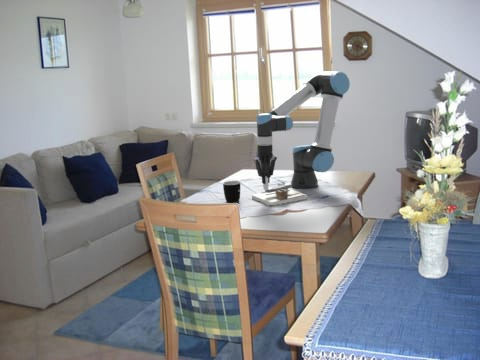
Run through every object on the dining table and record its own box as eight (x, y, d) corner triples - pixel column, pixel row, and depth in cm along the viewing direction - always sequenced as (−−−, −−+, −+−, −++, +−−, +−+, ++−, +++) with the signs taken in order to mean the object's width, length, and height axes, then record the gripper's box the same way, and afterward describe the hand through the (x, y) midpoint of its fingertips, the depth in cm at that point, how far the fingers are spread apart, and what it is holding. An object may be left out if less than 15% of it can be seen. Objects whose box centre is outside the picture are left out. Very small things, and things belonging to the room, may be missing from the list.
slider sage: (284, 188, 306) (283, 180, 305) (288, 190, 302) (288, 181, 301) (278, 190, 304) (277, 181, 303) (282, 191, 300) (281, 183, 299)
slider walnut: (283, 196, 289) (283, 188, 288) (287, 198, 286) (287, 189, 285) (276, 198, 288) (276, 189, 287) (281, 199, 284) (280, 191, 283)
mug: (241, 203, 290) (240, 184, 288) (223, 204, 290) (222, 185, 288) (241, 197, 301) (240, 179, 299) (224, 198, 302) (223, 180, 299)
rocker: (287, 186, 298) (287, 183, 298) (291, 187, 295) (291, 184, 295) (265, 191, 292) (264, 188, 292) (268, 193, 289) (268, 189, 289)
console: (287, 191, 308) (286, 184, 307) (307, 198, 291) (307, 190, 290) (252, 198, 298) (251, 190, 297) (271, 206, 281) (270, 198, 280)
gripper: (272, 142, 291) (272, 186, 296) (250, 144, 285) (251, 189, 290) (279, 143, 285) (280, 189, 290) (257, 146, 279) (258, 192, 284)
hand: (265, 189), depth 290 cm, fingers closed
